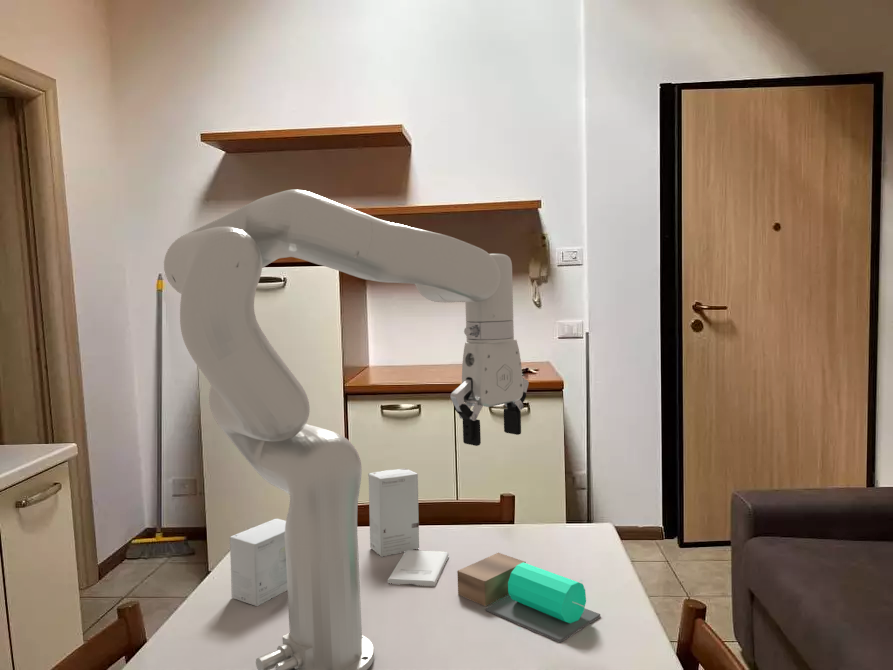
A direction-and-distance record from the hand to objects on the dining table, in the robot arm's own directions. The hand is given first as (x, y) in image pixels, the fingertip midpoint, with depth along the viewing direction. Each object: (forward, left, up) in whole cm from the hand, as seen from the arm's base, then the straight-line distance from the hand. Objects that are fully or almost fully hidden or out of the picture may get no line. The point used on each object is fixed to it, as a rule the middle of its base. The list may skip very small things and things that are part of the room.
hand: (492, 438), depth 110 cm
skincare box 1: (-25, +29, -26) cm, 46 cm away
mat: (-1, -10, -25) cm, 27 cm away
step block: (0, +1, -25) cm, 25 cm away
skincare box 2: (+1, +27, -26) cm, 37 cm away
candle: (0, -5, -22) cm, 23 cm away
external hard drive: (-3, +16, -26) cm, 31 cm away
